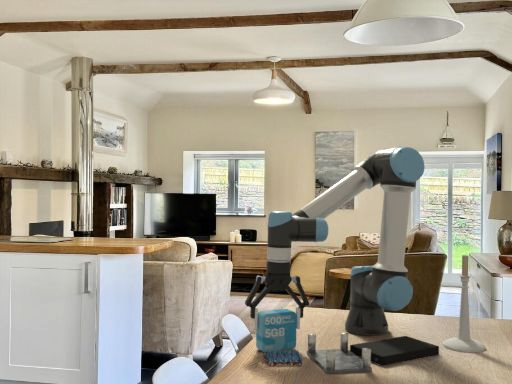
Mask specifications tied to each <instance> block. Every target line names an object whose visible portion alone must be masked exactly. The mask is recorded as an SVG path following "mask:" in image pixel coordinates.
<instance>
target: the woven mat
mask: <svg viewBox="0 0 512 384" xmlns="http://www.w3.org/2000/svg"><path fill="white" fill-rule="evenodd" d="M263 358H264V360H265V364H266V367H270V366H271V367H274V366H275V367H278V366H279V367H281V366H282V367H289V366H290V367H293V366H294V367H297V365H298V366H299V367H301V366H302V364H303V359H302V357H301V355H300V353H299V350H298V351H297V350H296V351H293V350H291V351H289V350H286V351H277V352H273V351H272V352H268V351H267V352H264V353H263Z"/></svg>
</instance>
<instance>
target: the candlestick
mask: <svg viewBox="0 0 512 384" xmlns="http://www.w3.org/2000/svg"><path fill="white" fill-rule="evenodd" d="M469 258H470V257H469V255H467V254H462V255H461V275H459V277H460V282H461V284H462V286H461V287H460V288H461V294H460V306H459V307H460V309H459V321H458V330H457V331H458V334H457V336H455V337H451V338H447V339H445V340H444V341H443V344H442V346H443V347H444V348H445V349H448V350H450V351H454V352H460V353H472V354H473V353H481V352H485V350H486V346H485V345H484V344H483V343H482V342H481V341H479V340H477V339H473V338H471V331H470V328H471V327H470V326H471V325H470V303H469V301H470V300H469V287H468V284H469V282H470V278H471V275H469V262H470V261H469Z"/></svg>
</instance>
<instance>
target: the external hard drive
mask: <svg viewBox="0 0 512 384" xmlns="http://www.w3.org/2000/svg"><path fill="white" fill-rule="evenodd" d="M362 348H370V349H371V363H374V364H376V365H378V364H379V366H381V367H384V366H390V365H394V364H400V363H405V362H411V361H414V360H419V359H420V358H421V359H424V358H425V357H426V358H431V357H435V356H439V355H440V347H439V345H436V344H433V343H429V342H427V341H424V340H421V339H416V338H414V337H411V336H407V335H403V336H402V335H401V336H396V337H390V338H385V339H384V338H383V339H379V340H371V341H366V342H361V343H359V342H358V343H355V344H350V345H349V350H350V351H351V352H352V353H353V354H355V355H356V356H357V357H359V358H360V359H362ZM426 358H425V359H426Z"/></svg>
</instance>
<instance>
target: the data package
mask: <svg viewBox="0 0 512 384" xmlns="http://www.w3.org/2000/svg"><path fill="white" fill-rule="evenodd" d="M296 320H297V316H296V311H293V310H291V309H289V308H288V309H287V308H281V309H280V308H279V309H270V310H269V309H268V310H260V311H258V321H257V330H255V331H256V332H255V346H256V348H257V349H258V350H259V351H261V352H263V353H265V352H267V351H268V352H272V351H273V352H277V351H278V352H286V351H293V350H294V349H295V348H296V347H297V328H296Z"/></svg>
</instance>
